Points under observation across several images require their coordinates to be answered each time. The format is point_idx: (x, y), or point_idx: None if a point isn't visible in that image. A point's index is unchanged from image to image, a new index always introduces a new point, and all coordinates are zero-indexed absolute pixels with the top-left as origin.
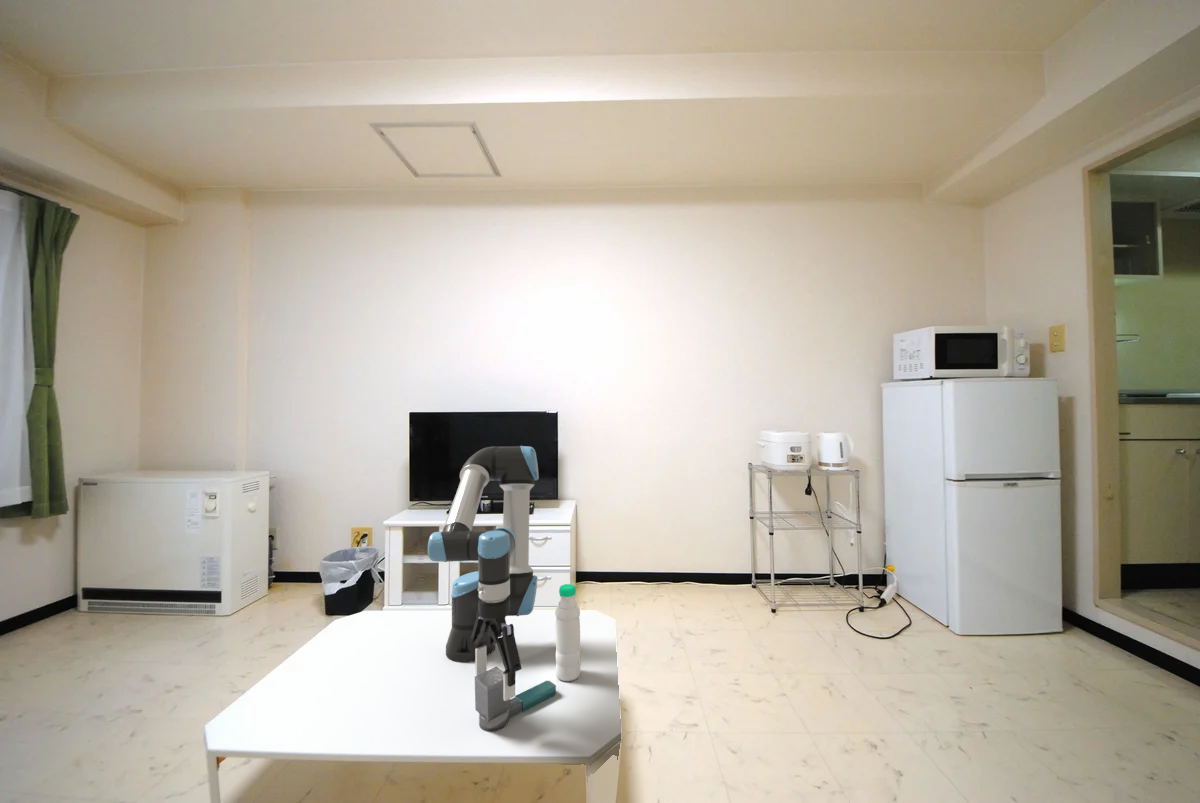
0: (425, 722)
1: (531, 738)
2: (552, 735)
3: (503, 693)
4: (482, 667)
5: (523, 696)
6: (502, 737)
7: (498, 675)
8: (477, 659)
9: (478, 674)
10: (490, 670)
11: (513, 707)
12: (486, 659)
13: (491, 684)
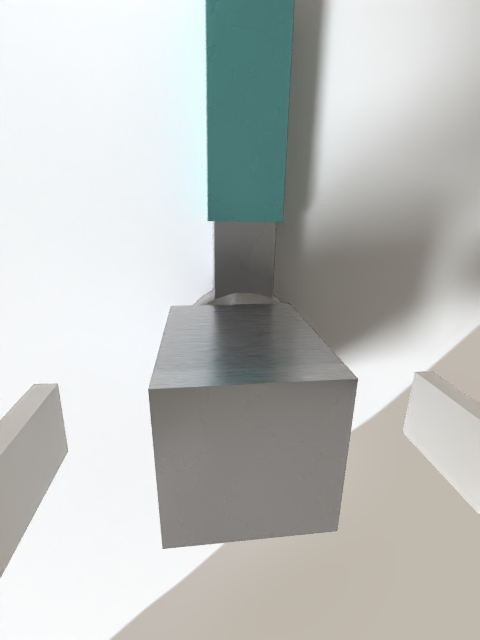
0: (68, 512)
1: (418, 288)
2: (470, 220)
3: (424, 454)
4: (43, 441)
5: (244, 190)
6: None
7: (281, 431)
8: (9, 556)
9: (65, 444)
10: (170, 447)
11: (273, 274)
12: (9, 444)
13: (335, 505)
